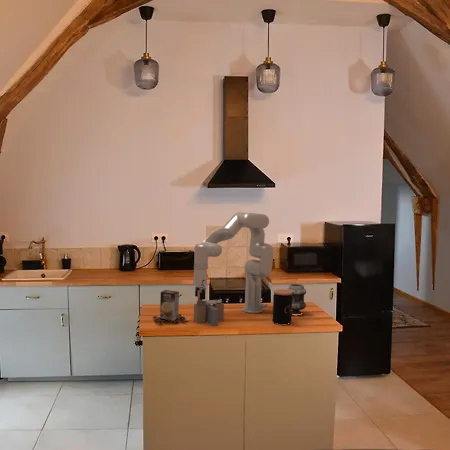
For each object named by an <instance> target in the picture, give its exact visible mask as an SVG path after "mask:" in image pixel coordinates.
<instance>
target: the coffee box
mask: <svg viewBox="0 0 450 450" xmlns="http://www.w3.org/2000/svg"><path fill="white" fill-rule="evenodd" d="M159 303H160V305H159V309H160V310H159V319H160V318H164V319H171V320H175V319H176V318H177V317H178V318H179V305H180V304H179V303H180V291H176V290H169V289H164V290H162V291H160V302H159Z"/></svg>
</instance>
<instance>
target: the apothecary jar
mask: <svg viewBox="0 0 450 450" xmlns="http://www.w3.org/2000/svg"><path fill="white" fill-rule="evenodd" d="M286 290H289V291H292V314H301V313H303V312H302V310H305V308H306V307H307V304H306V302H305V295H306V294H307V290H306V288H305V286H304V285H303V284H301V283H290V284H289V286H288V288H287V289H286Z"/></svg>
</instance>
